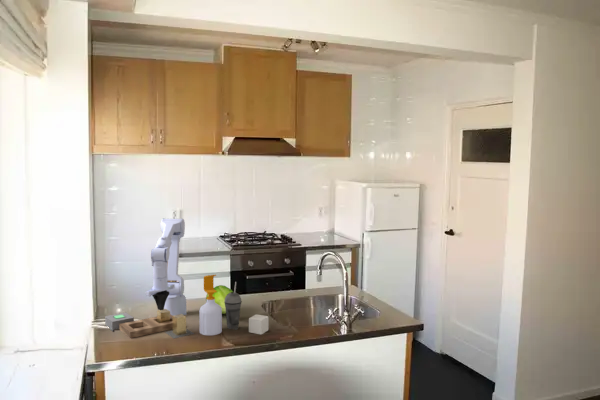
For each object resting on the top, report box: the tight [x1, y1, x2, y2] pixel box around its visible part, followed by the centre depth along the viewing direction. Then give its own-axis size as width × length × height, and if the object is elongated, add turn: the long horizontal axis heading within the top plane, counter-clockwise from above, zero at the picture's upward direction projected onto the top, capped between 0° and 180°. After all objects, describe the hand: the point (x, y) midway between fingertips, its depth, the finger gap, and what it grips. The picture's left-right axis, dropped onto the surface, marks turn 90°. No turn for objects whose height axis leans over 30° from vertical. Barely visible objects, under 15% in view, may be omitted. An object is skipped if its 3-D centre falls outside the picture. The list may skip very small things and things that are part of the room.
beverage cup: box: [224, 281, 243, 331], centre depth 215 cm, size 7×7×20 cm
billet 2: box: [172, 314, 187, 335], centre depth 208 cm, size 4×4×7 cm
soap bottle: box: [198, 274, 223, 336], centre depth 209 cm, size 9×9×25 cm
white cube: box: [248, 313, 269, 335], centre depth 213 cm, size 6×6×6 cm
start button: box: [114, 315, 125, 319], centre depth 217 cm, size 4×4×3 cm
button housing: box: [104, 311, 135, 332], centre depth 217 cm, size 9×9×4 cm
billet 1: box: [156, 309, 170, 324], centre depth 216 cm, size 4×4×7 cm
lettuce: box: [205, 284, 234, 315], centre depth 234 cm, size 14×20×12 cm
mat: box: [164, 328, 195, 339], centre depth 208 cm, size 9×9×1 cm
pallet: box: [119, 314, 173, 339], centre depth 213 cm, size 22×12×3 cm, turn 129°
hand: (160, 309), depth 210 cm, fingers closed
